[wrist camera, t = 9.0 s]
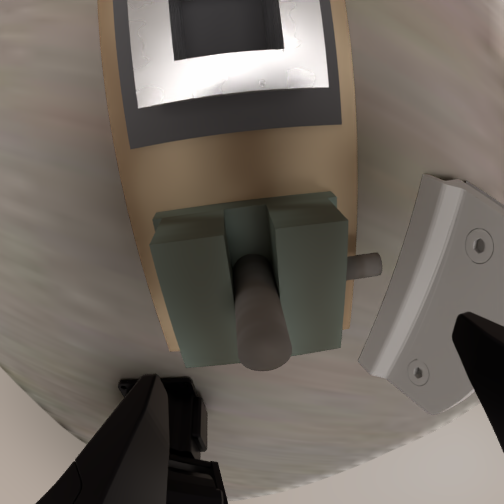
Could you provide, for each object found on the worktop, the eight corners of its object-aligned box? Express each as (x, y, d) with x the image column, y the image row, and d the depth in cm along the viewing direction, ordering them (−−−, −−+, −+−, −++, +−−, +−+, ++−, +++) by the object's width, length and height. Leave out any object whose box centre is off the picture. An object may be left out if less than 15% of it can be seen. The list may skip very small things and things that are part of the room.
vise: (173, 332, 22) (157, 440, 14) (108, -28, 11) (34, -93, 3) (347, 309, 22) (395, 407, 14) (330, -51, 11) (399, -124, 3)
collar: (161, 105, 13) (138, 108, 9) (148, -17, 10) (125, -48, 7) (302, 89, 13) (328, 86, 10) (287, -32, 10) (307, -67, 7)
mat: (133, 147, 14) (130, 149, 14) (115, -32, 10) (111, -35, 9) (338, 123, 15) (342, 124, 14) (316, -53, 10) (319, -58, 9)
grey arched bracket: (424, 167, 18) (559, 234, 10) (457, 175, 20) (568, 232, 12) (355, 364, 25) (430, 446, 17) (392, 350, 27) (462, 419, 19)
